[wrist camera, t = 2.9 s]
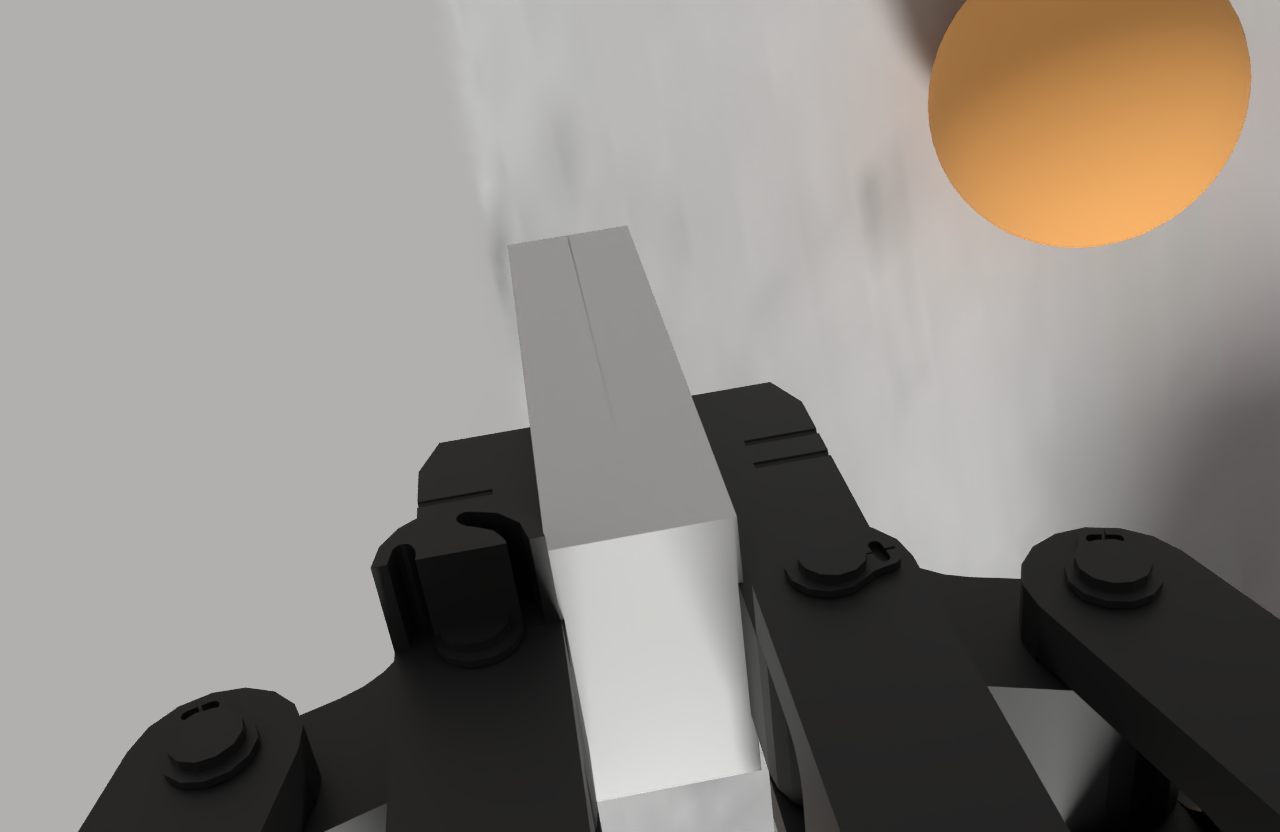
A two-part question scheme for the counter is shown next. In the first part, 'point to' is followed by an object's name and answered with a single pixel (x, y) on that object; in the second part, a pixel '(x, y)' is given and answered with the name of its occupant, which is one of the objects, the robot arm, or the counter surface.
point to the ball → (1087, 112)
